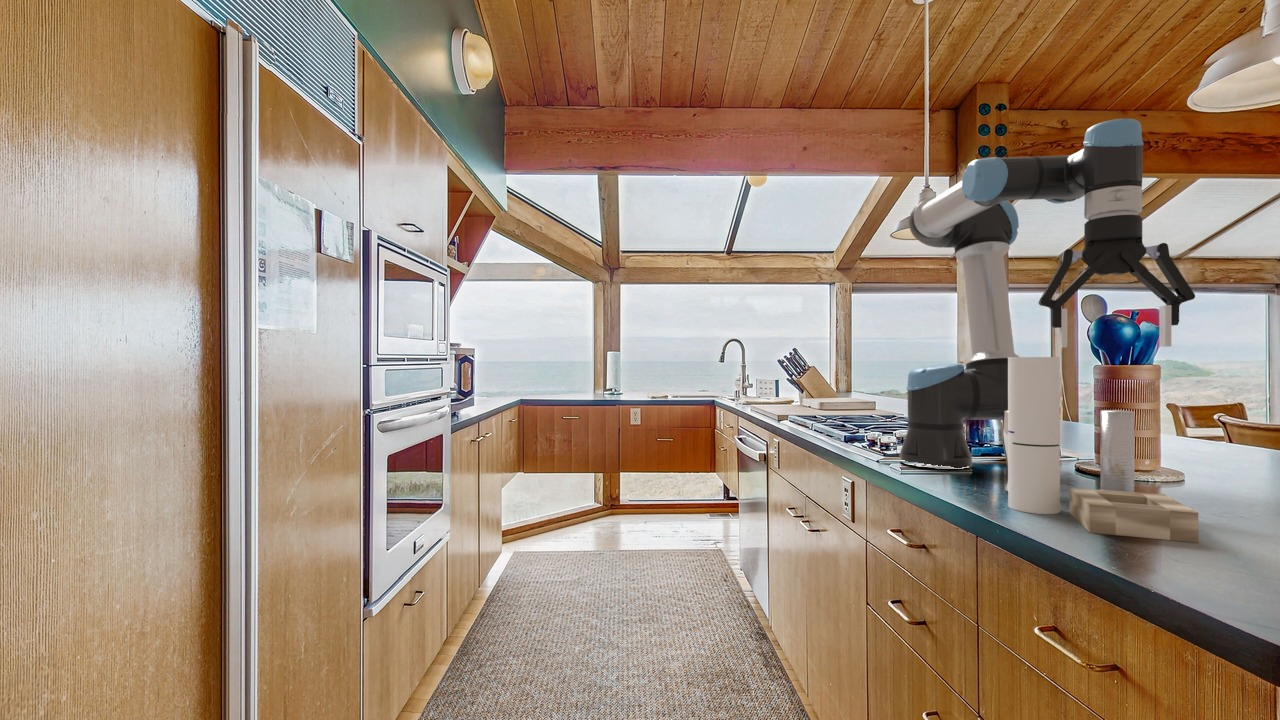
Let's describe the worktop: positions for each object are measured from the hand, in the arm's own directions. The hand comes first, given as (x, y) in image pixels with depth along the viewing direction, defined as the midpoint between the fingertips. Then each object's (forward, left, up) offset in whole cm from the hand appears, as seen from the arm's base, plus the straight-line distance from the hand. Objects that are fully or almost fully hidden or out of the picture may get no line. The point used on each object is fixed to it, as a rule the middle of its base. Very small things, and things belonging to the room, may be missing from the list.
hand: (1112, 347), depth 100 cm
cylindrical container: (+5, -12, -27) cm, 30 cm away
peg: (-1, +1, -27) cm, 27 cm away
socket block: (+12, -1, -27) cm, 29 cm away
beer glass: (-9, -11, -27) cm, 30 cm away
